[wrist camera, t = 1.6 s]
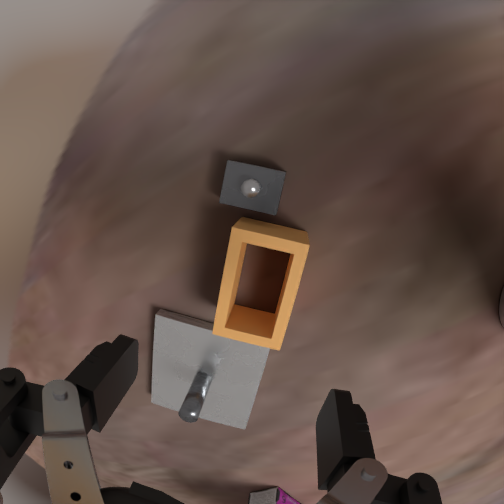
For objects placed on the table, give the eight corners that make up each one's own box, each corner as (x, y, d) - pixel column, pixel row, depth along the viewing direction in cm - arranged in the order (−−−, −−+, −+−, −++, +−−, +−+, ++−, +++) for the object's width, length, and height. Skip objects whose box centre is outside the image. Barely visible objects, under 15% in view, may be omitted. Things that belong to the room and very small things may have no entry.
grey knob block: (286, 171, 23) (285, 172, 20) (277, 211, 23) (275, 217, 21) (232, 160, 23) (225, 159, 20) (225, 199, 24) (216, 204, 21)
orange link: (306, 231, 24) (309, 245, 20) (281, 324, 26) (279, 350, 22) (241, 216, 24) (231, 227, 20) (223, 310, 26) (212, 334, 22)
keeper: (271, 337, 26) (265, 383, 20) (246, 421, 30) (237, 466, 24) (160, 308, 27) (129, 344, 21) (155, 395, 30) (133, 434, 24)
